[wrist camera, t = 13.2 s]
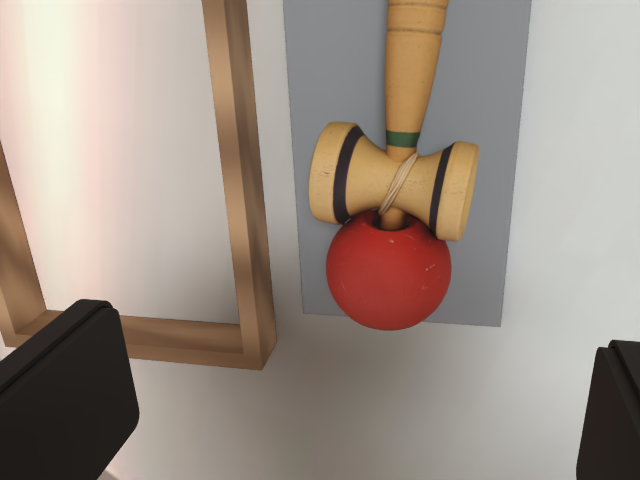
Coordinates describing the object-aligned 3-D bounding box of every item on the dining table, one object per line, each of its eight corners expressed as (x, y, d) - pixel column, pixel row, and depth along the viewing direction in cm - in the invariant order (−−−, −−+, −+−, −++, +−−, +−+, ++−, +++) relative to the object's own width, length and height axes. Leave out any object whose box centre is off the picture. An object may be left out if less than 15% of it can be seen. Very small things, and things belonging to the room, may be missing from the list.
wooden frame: (276, 341, 34) (262, 370, 32) (36, 321, 38) (5, 346, 35) (233, -138, 25) (207, -155, 22) (-84, -105, 28) (-141, -115, 25)
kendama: (326, -70, 26) (303, 296, 31) (324, -116, 19) (297, 350, 24) (494, -59, 26) (445, 305, 31) (546, -102, 19) (473, 361, 24)
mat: (499, 321, 31) (500, 327, 30) (305, 308, 33) (303, 313, 32) (538, -99, 23) (541, -101, 22) (281, -78, 25) (277, -79, 25)
